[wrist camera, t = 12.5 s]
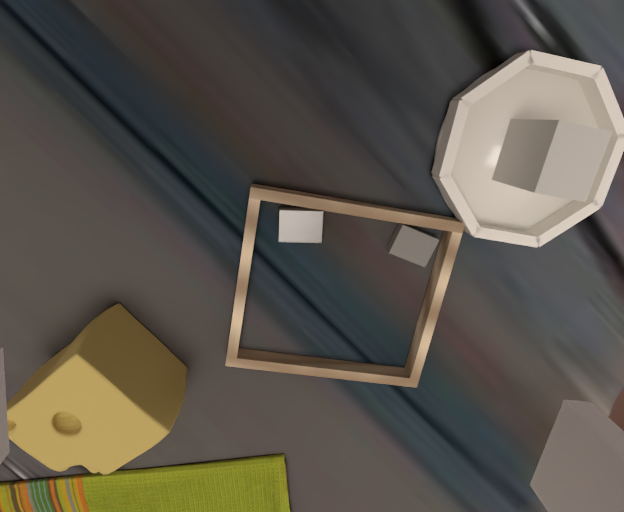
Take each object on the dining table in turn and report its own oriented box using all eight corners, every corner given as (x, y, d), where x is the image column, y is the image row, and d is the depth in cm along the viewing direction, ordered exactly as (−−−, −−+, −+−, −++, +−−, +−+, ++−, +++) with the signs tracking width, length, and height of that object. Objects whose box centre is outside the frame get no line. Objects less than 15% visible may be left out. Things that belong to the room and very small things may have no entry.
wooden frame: (251, 183, 39) (250, 186, 38) (457, 218, 42) (465, 223, 40) (227, 355, 45) (225, 365, 43) (411, 376, 47) (416, 387, 45)
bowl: (462, 42, 37) (476, 37, 34) (626, 80, 39) (652, 77, 37) (415, 221, 42) (424, 228, 39) (564, 246, 44) (583, 255, 41)
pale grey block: (510, 118, 39) (559, 120, 32) (555, 128, 39) (612, 131, 33) (491, 179, 40) (534, 192, 34) (535, 188, 41) (586, 202, 34)
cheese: (122, 422, 46) (83, 501, 37) (43, 355, 43) (-23, 423, 34) (195, 367, 45) (174, 434, 35) (118, 293, 42) (73, 346, 32)
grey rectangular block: (398, 220, 42) (402, 224, 41) (433, 235, 43) (439, 240, 41) (384, 247, 43) (388, 252, 41) (419, 262, 44) (425, 267, 42)
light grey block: (279, 206, 41) (279, 210, 39) (321, 207, 41) (323, 211, 40) (278, 237, 42) (278, 241, 40) (319, 238, 42) (321, 242, 40)
